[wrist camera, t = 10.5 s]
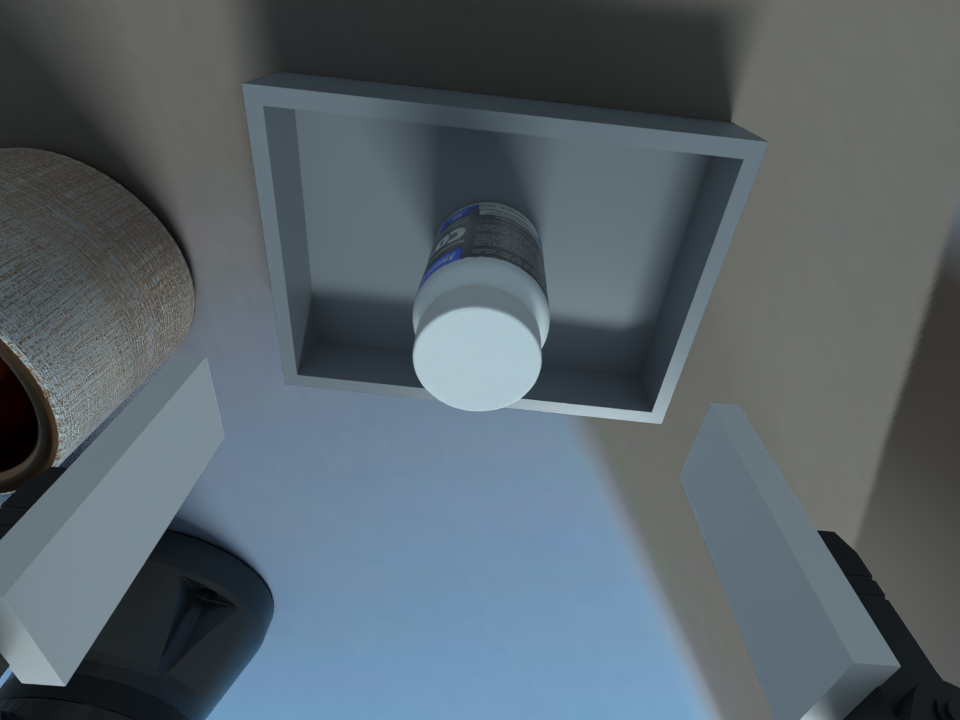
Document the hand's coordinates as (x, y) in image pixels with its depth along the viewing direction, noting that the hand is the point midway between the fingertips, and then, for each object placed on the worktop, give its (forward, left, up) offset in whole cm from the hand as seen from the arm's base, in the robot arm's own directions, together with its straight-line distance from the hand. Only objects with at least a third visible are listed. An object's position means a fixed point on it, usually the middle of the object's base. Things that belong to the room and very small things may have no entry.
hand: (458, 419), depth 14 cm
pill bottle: (0, 0, -11) cm, 11 cm away
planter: (-19, -3, -12) cm, 22 cm away
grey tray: (0, 0, -11) cm, 11 cm away
